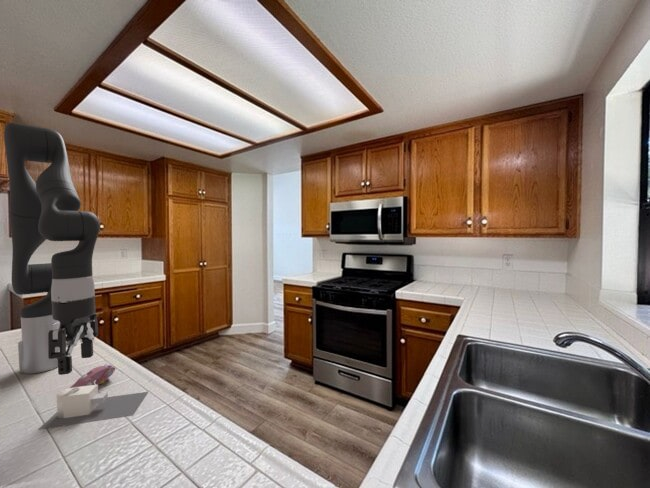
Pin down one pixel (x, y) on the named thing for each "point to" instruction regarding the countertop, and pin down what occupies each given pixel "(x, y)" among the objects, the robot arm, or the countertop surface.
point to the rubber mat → (102, 411)
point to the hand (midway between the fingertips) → (77, 365)
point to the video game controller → (95, 376)
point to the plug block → (79, 401)
